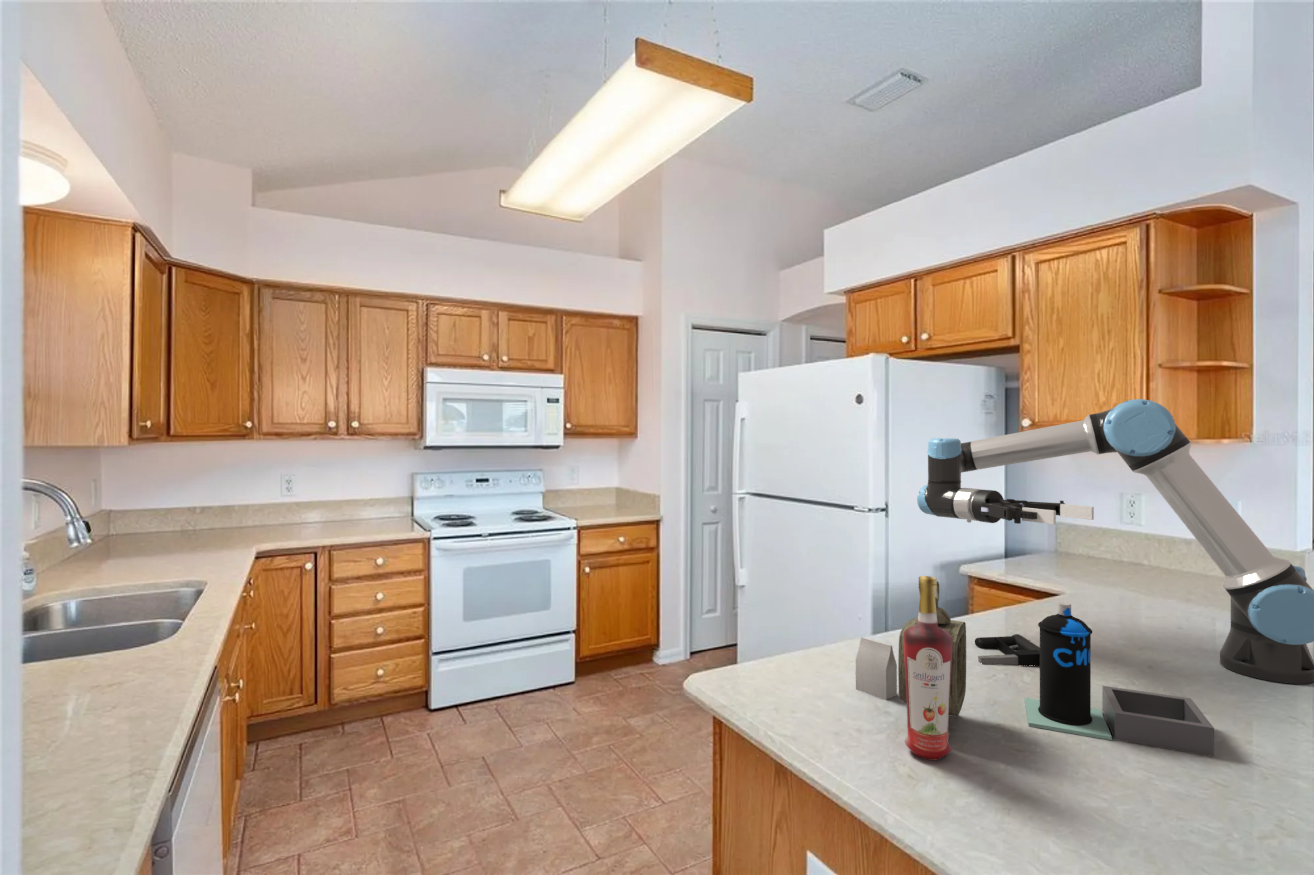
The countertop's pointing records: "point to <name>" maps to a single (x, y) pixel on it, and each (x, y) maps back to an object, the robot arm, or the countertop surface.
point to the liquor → (927, 678)
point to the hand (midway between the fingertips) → (1074, 515)
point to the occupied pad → (1092, 729)
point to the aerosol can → (1065, 668)
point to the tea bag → (876, 669)
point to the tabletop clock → (958, 658)
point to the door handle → (1009, 650)
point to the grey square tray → (1157, 720)
